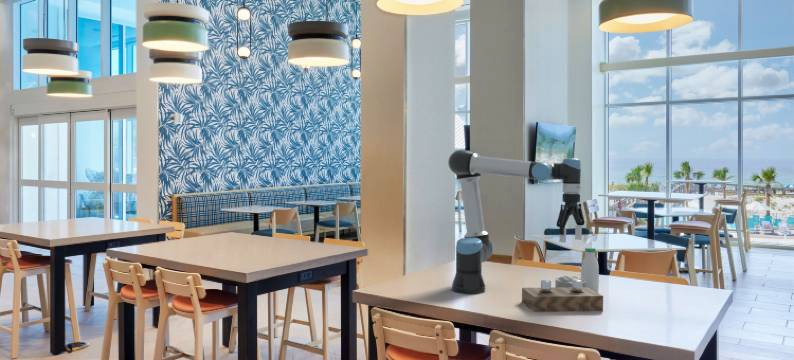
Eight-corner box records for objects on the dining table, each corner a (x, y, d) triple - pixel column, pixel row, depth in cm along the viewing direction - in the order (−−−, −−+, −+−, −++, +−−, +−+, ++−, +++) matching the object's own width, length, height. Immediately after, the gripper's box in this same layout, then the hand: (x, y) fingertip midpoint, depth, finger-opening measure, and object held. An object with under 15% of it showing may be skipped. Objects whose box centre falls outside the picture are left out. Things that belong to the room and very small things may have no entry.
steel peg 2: (574, 295, 232) (574, 281, 232) (570, 293, 236) (570, 279, 236) (583, 295, 232) (583, 281, 232) (579, 293, 236) (579, 279, 236)
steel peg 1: (542, 296, 231) (542, 281, 231) (539, 294, 235) (539, 279, 235) (552, 296, 231) (552, 281, 231) (548, 293, 235) (549, 279, 235)
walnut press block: (533, 311, 225) (534, 296, 225) (521, 301, 241) (522, 287, 240) (602, 311, 227) (603, 295, 227) (586, 301, 243) (586, 287, 243)
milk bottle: (599, 293, 257) (600, 249, 256) (581, 293, 258) (582, 248, 258) (597, 290, 264) (598, 247, 264) (579, 289, 266) (580, 246, 265)
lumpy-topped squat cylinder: (576, 301, 243) (576, 281, 243) (549, 295, 253) (550, 276, 253) (589, 297, 250) (589, 277, 250) (562, 292, 260) (563, 273, 259)
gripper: (564, 194, 243) (563, 244, 243) (592, 192, 260) (592, 239, 261) (548, 193, 248) (548, 242, 249) (577, 192, 265) (577, 237, 266)
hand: (570, 241), depth 255 cm, fingers open, 13 cm apart
